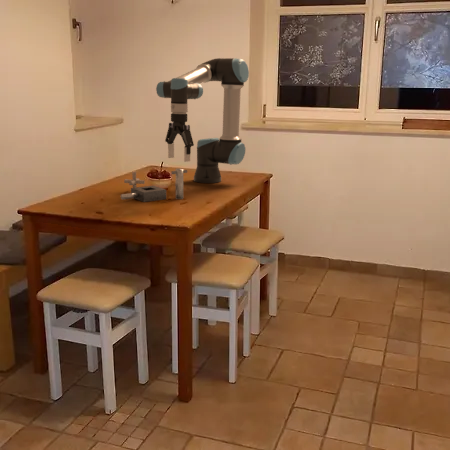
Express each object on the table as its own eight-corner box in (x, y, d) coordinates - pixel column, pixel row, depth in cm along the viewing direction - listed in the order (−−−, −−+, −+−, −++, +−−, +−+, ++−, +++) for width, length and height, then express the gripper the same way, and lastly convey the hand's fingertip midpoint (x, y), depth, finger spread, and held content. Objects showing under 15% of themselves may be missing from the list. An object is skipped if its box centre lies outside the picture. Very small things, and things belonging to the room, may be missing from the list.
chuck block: (153, 194, 287) (153, 185, 285) (166, 199, 277) (166, 189, 276) (115, 199, 275) (115, 189, 274) (128, 204, 266) (128, 194, 264)
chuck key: (184, 196, 283) (184, 167, 280) (188, 198, 280) (188, 168, 277) (170, 198, 278) (170, 169, 275) (174, 200, 276) (174, 170, 272)
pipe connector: (140, 194, 287) (140, 173, 284) (121, 193, 289) (120, 172, 286) (147, 190, 296) (147, 170, 294) (128, 189, 298) (128, 169, 296)
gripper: (157, 111, 277) (158, 156, 282) (187, 115, 258) (187, 163, 263) (171, 111, 281) (171, 155, 286) (201, 114, 262) (201, 162, 267)
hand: (179, 159), depth 275 cm, fingers open, 13 cm apart
